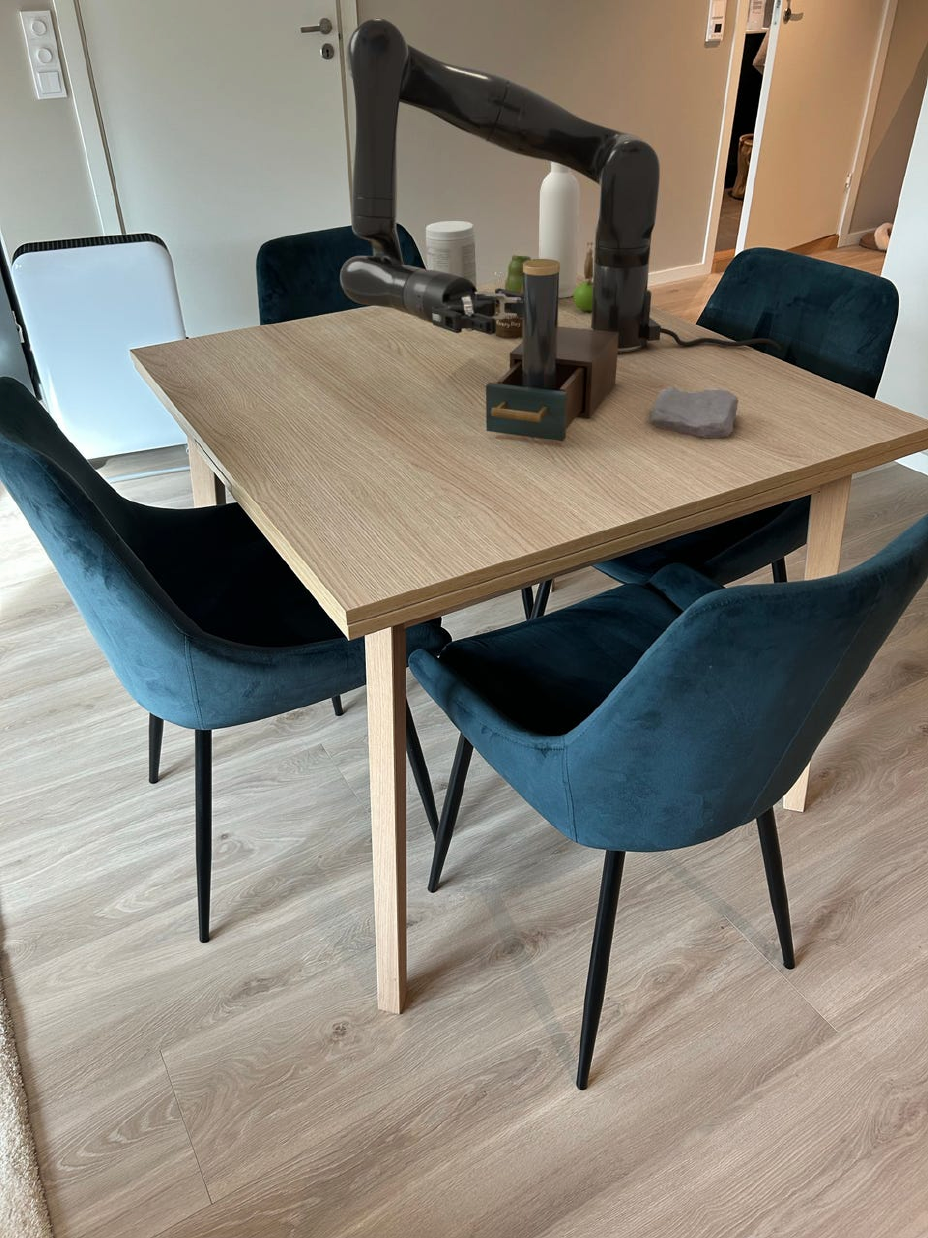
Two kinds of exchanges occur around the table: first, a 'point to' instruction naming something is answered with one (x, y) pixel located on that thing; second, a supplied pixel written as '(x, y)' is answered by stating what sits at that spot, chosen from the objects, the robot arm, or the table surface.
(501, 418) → the drawer
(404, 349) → the table surface
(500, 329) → the utensil holder
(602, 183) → the robot arm
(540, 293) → the black cylinder
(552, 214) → the bottle
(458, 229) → the supplement tub
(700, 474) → the table surface
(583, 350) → the cabinet
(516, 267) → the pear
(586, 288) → the snail figurine
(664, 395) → the stone block
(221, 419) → the table surface
